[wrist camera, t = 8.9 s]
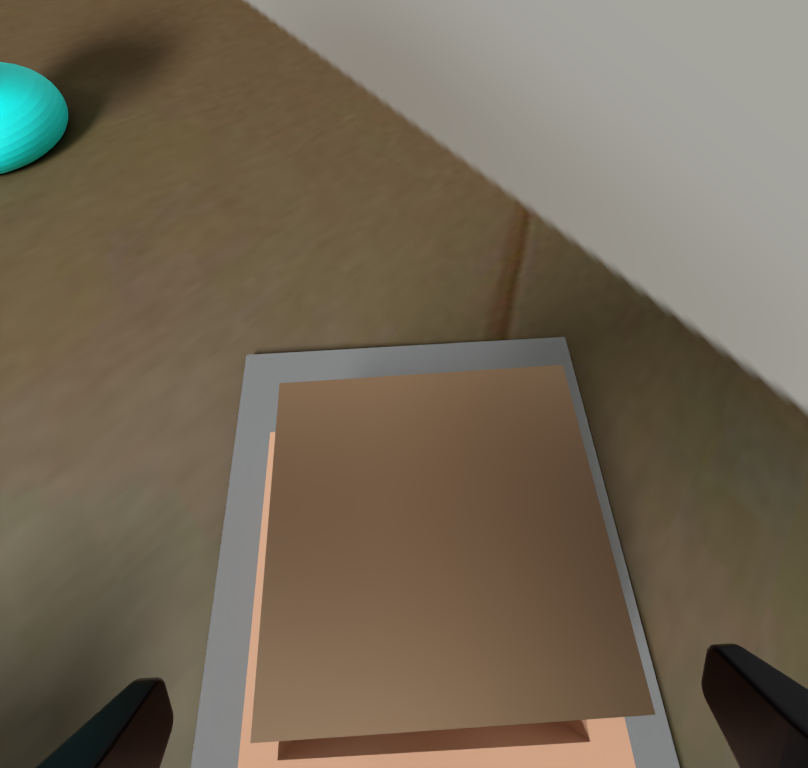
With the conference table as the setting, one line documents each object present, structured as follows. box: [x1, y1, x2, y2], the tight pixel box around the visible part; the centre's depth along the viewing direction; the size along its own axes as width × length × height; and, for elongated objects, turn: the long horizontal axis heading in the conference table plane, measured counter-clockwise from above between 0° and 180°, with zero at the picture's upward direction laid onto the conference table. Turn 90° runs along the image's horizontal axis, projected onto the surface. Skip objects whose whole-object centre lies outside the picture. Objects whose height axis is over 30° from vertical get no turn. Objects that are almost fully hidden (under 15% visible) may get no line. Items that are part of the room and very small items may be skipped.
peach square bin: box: [238, 432, 636, 768], centre depth 15 cm, size 10×10×4 cm
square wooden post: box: [250, 365, 656, 743], centre depth 10 cm, size 4×4×13 cm
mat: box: [191, 337, 680, 768], centre depth 17 cm, size 22×16×1 cm
